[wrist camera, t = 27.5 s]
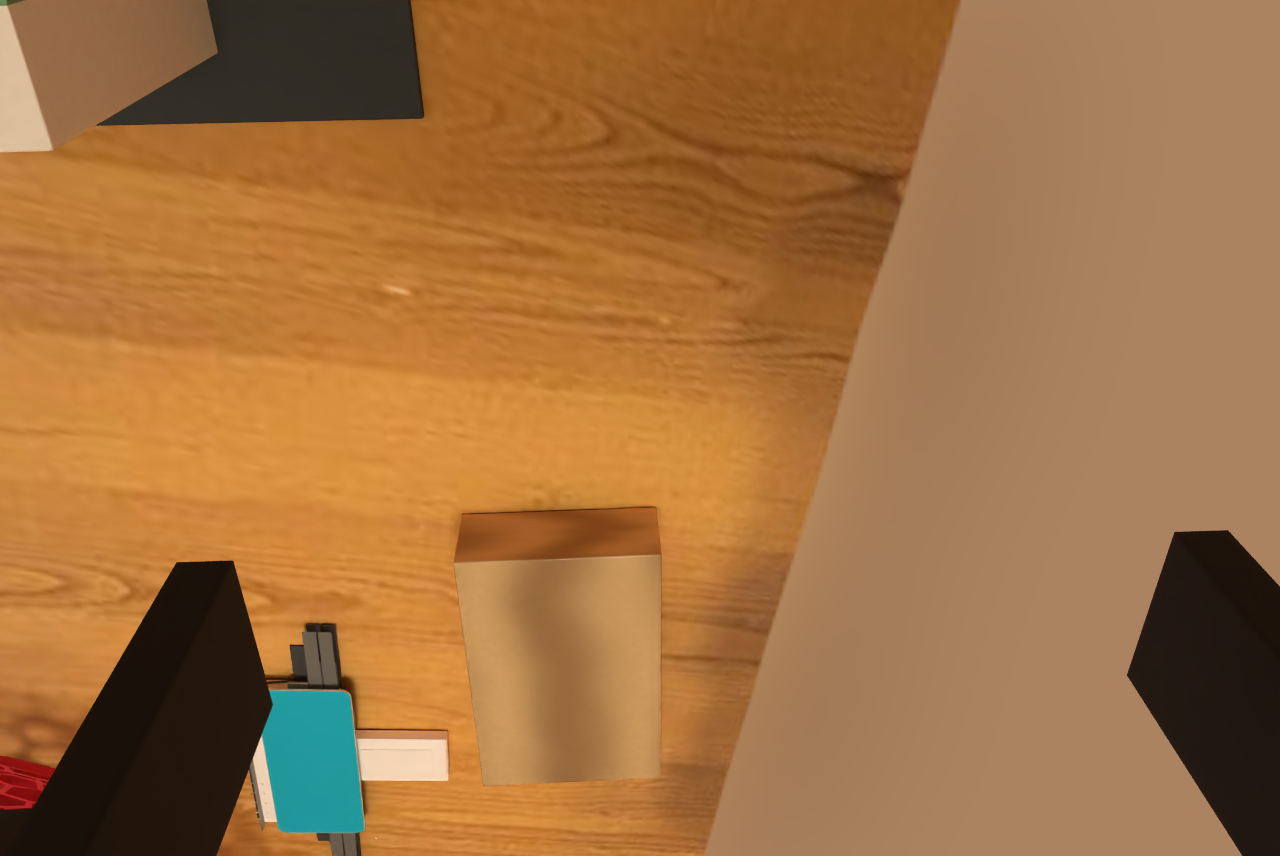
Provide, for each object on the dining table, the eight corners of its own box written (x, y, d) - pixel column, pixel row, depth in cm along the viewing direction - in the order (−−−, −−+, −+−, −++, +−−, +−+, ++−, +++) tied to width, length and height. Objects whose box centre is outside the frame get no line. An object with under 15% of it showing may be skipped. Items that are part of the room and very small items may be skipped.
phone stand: (452, 855, 65) (449, 878, 63) (266, 855, 64) (258, 879, 62) (443, 625, 54) (440, 647, 53) (221, 621, 53) (211, 643, 52)
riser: (656, 506, 51) (661, 554, 48) (656, 723, 59) (660, 778, 56) (461, 513, 51) (453, 563, 47) (489, 731, 59) (483, 786, 55)
